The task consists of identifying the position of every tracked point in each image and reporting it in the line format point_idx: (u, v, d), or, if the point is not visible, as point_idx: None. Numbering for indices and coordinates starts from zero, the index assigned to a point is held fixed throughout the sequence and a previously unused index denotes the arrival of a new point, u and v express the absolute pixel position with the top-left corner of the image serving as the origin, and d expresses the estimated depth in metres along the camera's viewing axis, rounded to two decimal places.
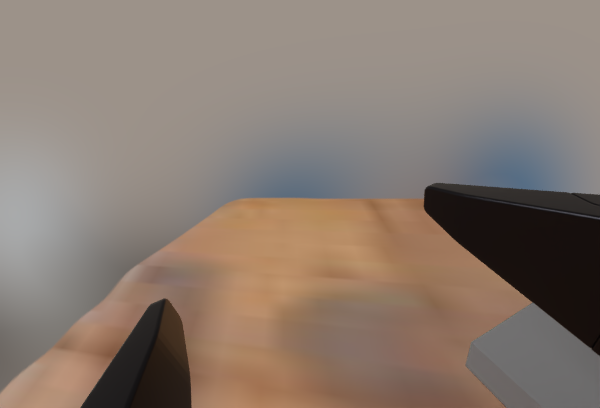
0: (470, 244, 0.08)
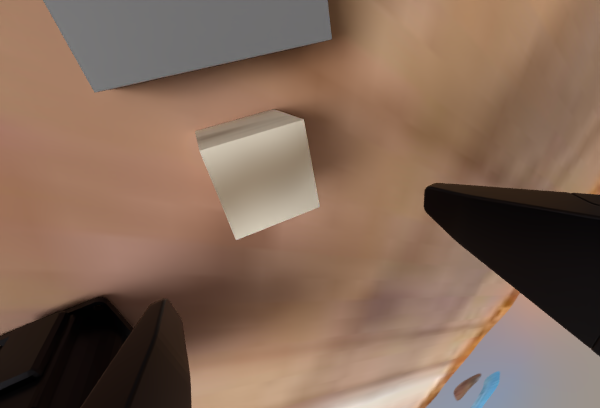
0: (470, 244, 0.08)
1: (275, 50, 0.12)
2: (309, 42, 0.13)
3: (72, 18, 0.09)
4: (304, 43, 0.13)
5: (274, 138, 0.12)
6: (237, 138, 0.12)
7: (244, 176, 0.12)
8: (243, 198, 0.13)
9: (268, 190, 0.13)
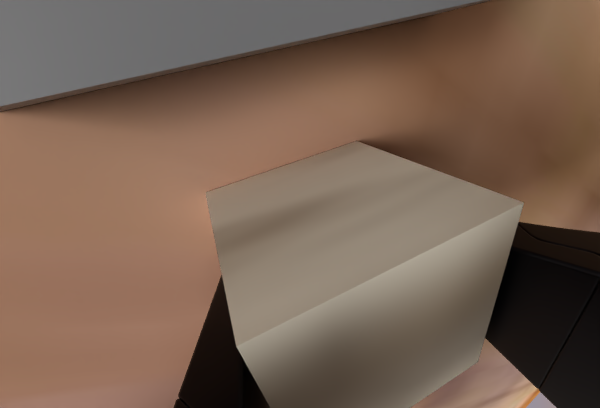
0: None
1: (437, 6, 0.04)
2: None
3: None
4: None
5: (446, 261, 0.04)
6: (351, 277, 0.04)
7: (354, 363, 0.04)
8: (341, 404, 0.05)
9: (398, 370, 0.05)
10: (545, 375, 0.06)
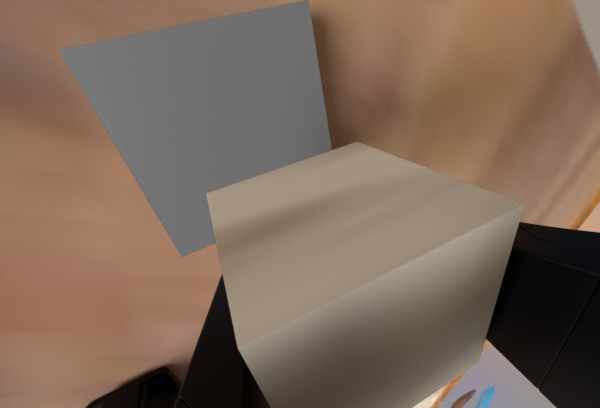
0: None
1: None
2: None
3: (172, 220, 0.15)
4: None
5: (447, 262, 0.04)
6: (352, 279, 0.04)
7: (355, 365, 0.04)
8: (342, 404, 0.05)
9: (399, 371, 0.05)
10: (545, 375, 0.06)
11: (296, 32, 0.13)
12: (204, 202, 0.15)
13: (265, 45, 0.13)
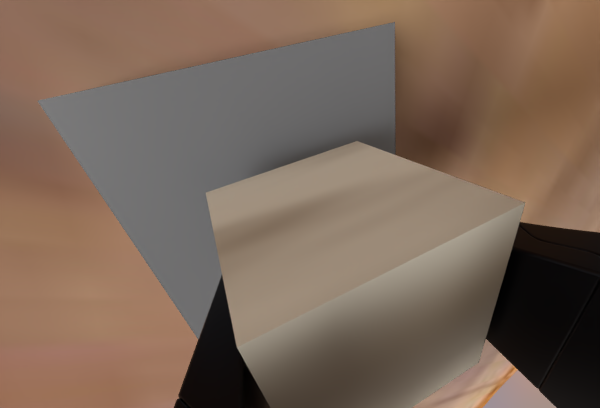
0: None
1: None
2: None
3: (195, 308, 0.11)
4: None
5: (448, 261, 0.04)
6: (352, 278, 0.04)
7: (355, 364, 0.04)
8: (341, 404, 0.05)
9: (400, 371, 0.05)
10: (545, 375, 0.06)
11: (374, 65, 0.10)
12: None
13: (333, 84, 0.09)
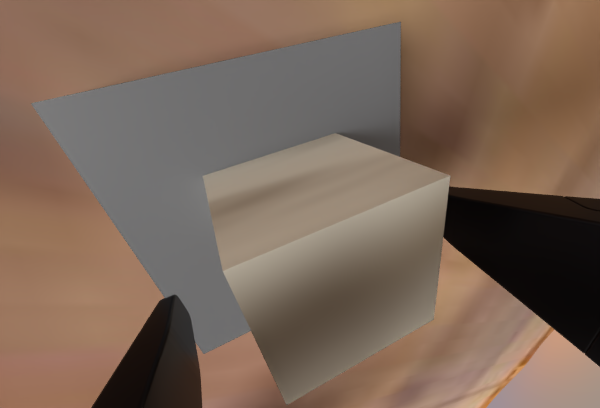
0: (464, 247, 0.08)
1: None
2: None
3: (195, 314, 0.11)
4: None
5: (388, 220, 0.05)
6: (311, 228, 0.05)
7: (318, 301, 0.06)
8: (309, 337, 0.06)
9: (358, 314, 0.06)
10: (593, 338, 0.06)
11: (379, 66, 0.09)
12: None
13: (337, 85, 0.09)
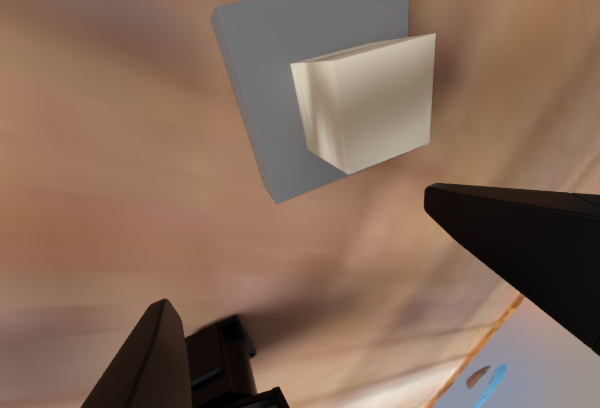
0: (470, 244, 0.08)
1: None
2: None
3: (275, 169, 0.17)
4: (390, 158, 0.20)
5: (405, 53, 0.11)
6: (369, 50, 0.11)
7: (370, 98, 0.11)
8: (364, 124, 0.12)
9: (388, 117, 0.12)
10: None
11: None
12: (301, 153, 0.17)
13: (369, 9, 0.15)
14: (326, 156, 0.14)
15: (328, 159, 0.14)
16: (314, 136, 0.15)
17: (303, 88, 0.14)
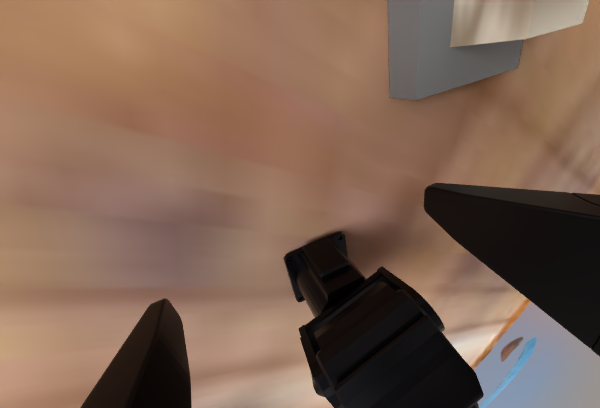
0: (470, 244, 0.08)
1: (491, 75, 0.21)
2: (507, 70, 0.22)
3: (423, 63, 0.19)
4: (505, 71, 0.22)
5: None
6: None
7: None
8: None
9: None
10: None
11: None
12: (444, 51, 0.19)
13: None
14: (488, 37, 0.16)
15: (489, 40, 0.16)
16: (472, 24, 0.17)
17: None
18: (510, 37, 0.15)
